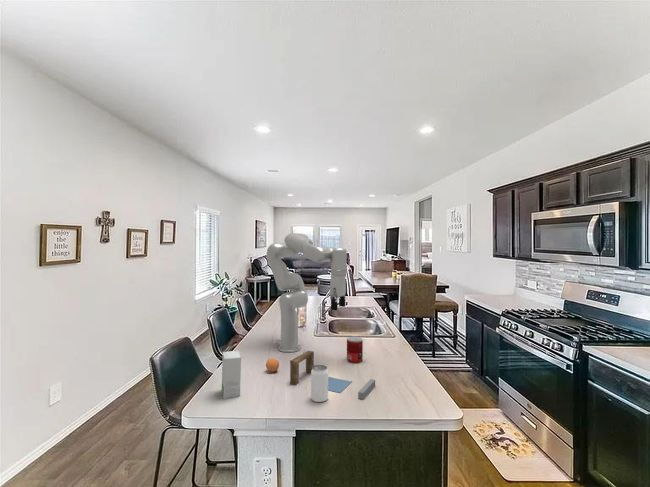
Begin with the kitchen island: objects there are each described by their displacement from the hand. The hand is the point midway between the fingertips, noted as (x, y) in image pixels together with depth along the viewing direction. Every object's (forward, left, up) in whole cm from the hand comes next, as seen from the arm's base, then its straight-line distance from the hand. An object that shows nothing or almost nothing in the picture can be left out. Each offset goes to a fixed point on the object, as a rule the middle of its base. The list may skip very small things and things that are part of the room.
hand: (338, 308), depth 167 cm
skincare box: (-24, -49, -28) cm, 61 cm away
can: (+9, -37, -28) cm, 47 cm away
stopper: (+23, -23, -27) cm, 43 cm away
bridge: (-7, -23, -27) cm, 36 cm away
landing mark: (+8, -23, -27) cm, 37 cm away
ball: (-23, -23, -24) cm, 40 cm away
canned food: (+5, +8, -28) cm, 29 cm away
